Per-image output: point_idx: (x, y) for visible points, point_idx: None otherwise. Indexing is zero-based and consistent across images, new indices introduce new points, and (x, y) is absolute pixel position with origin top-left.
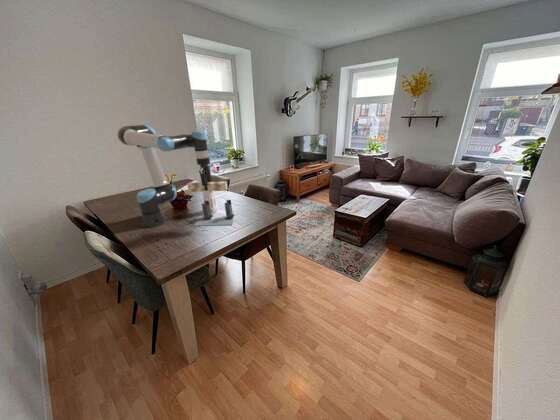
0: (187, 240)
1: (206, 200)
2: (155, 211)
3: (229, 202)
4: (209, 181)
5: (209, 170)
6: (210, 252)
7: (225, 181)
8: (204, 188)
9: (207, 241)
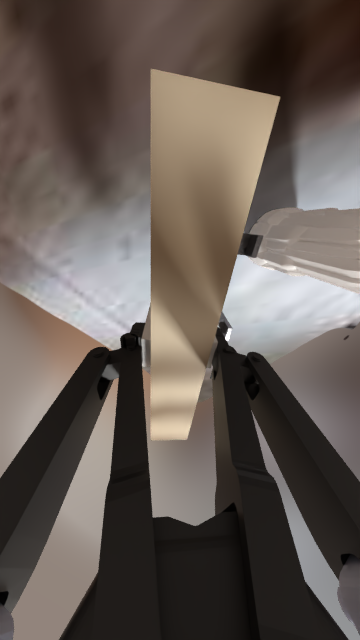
0: (57, 204)
1: (284, 236)
2: None
3: (223, 331)
4: (213, 373)
5: (308, 522)
6: (20, 291)
7: (187, 436)
8: (145, 325)
9: (66, 272)
